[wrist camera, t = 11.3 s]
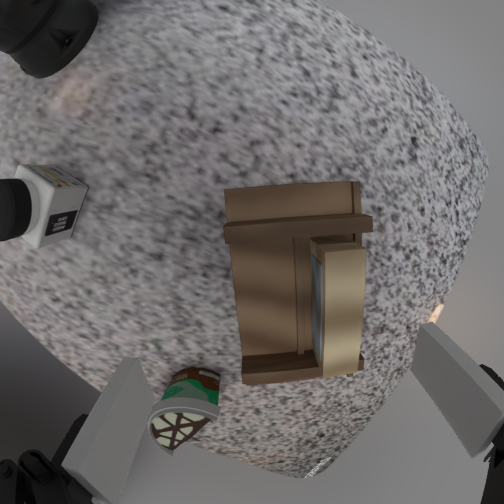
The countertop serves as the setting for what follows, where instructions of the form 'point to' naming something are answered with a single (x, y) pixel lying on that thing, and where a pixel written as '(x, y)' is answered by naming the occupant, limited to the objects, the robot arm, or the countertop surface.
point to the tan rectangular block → (337, 303)
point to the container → (39, 204)
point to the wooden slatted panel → (283, 270)
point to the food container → (184, 407)
